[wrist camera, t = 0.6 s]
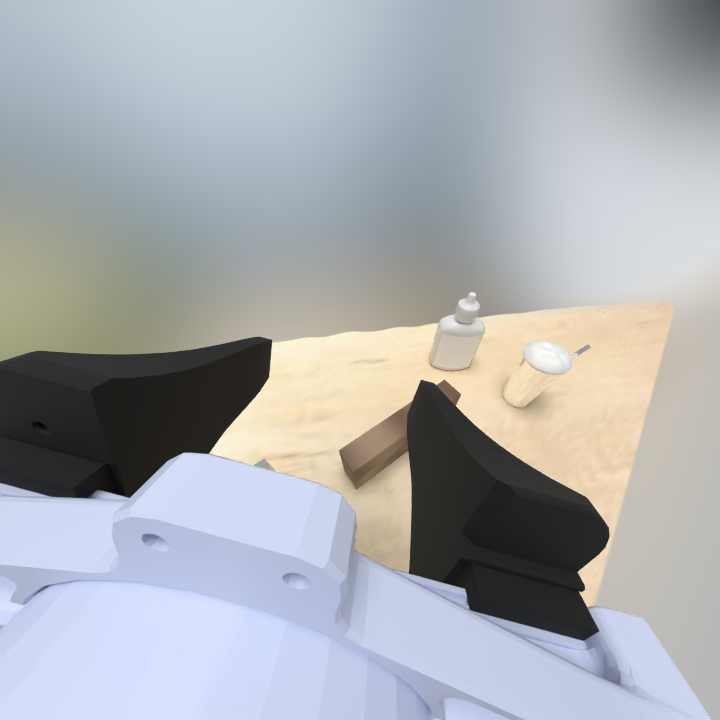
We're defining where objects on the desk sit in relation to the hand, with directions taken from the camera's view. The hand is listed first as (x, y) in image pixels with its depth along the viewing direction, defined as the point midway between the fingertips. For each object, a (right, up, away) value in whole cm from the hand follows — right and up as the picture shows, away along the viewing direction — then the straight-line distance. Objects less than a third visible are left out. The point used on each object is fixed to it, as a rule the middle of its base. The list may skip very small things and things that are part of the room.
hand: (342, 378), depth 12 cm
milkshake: (+22, -4, +22) cm, 31 cm away
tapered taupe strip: (+6, -9, +18) cm, 21 cm away
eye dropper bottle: (+14, 0, +26) cm, 30 cm away
